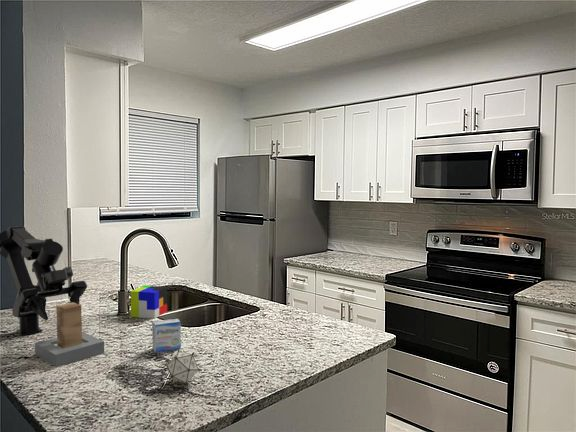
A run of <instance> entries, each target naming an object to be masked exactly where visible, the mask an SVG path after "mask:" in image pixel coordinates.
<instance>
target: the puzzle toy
mask: <svg viewBox="0 0 576 432" xmlns="http://www.w3.org/2000/svg"><path fill="white" fill-rule="evenodd" d="M167 312H168V286H158V285H157V286H156V285H142V286H140V287H137V288H135V289H133V290H130V317H132V318H140V319H141V318H144V319H153V320H154V319H156V318H158V317H160V316H162V315H164V314H165V313H167Z"/></svg>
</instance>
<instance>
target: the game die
mask: <svg viewBox="0 0 576 432" xmlns="http://www.w3.org/2000/svg"><path fill="white" fill-rule="evenodd" d="M194 355H195V351H194V352H193V351H192V353H187V352H182V351H180V349H177V353H175V355H174V356H173V357H172V358H171V359H170V360H169V361H168V362H167V363H162V365H163V366H165V367H166V368H167V370H168V372H169V375H170V376H169V379H171V380H170V383H173V382H174V381H175V382H178V383H183V384H185V386H186V387H188V386H189V385H188V383H189V382H190V381H191V379H192V378H193V377H195V375H196V374H197V373H198V371H199V372H202V371H203V370H202V369H201V368H199V367H198V364H197V362H196V360H195V357H194Z"/></svg>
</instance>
